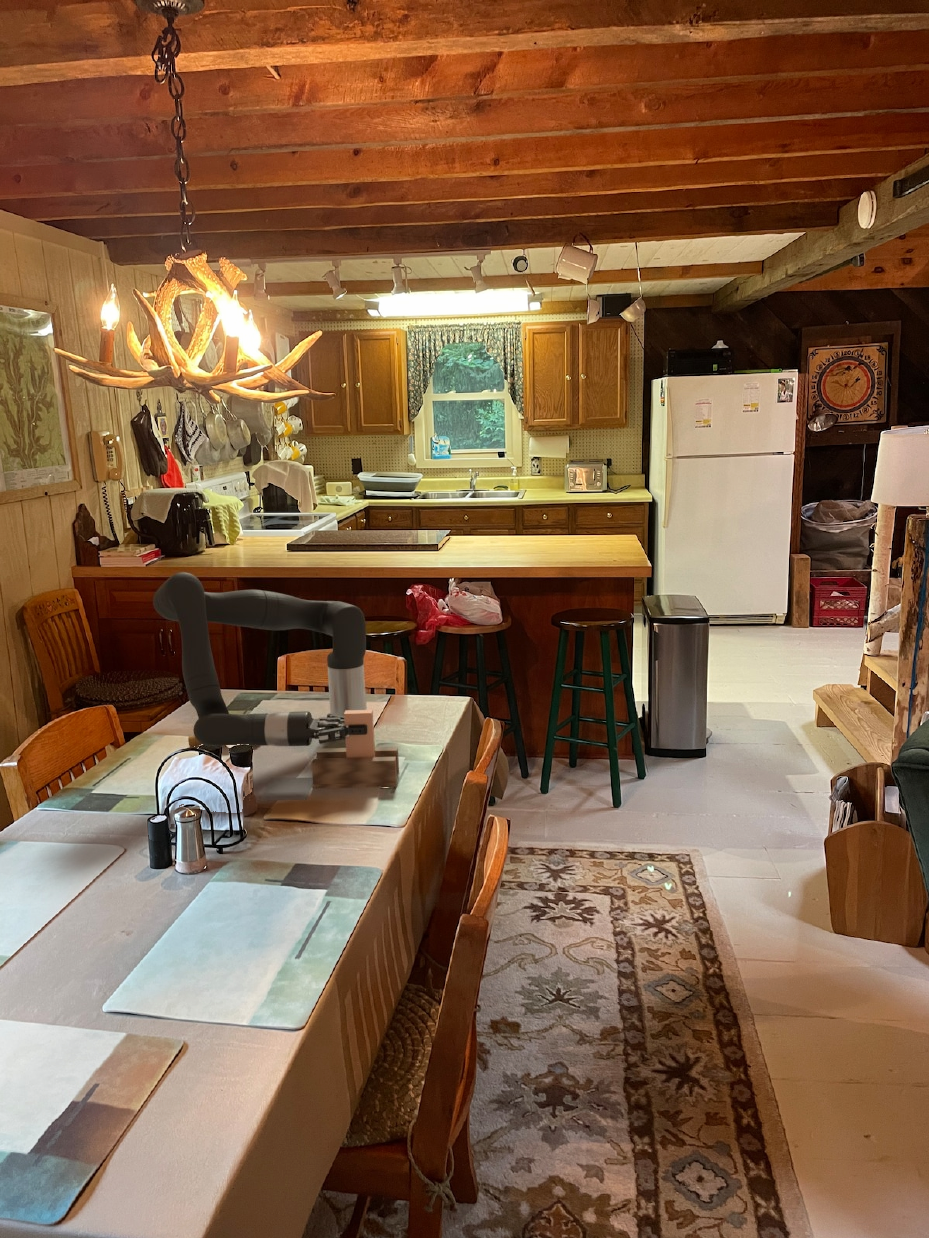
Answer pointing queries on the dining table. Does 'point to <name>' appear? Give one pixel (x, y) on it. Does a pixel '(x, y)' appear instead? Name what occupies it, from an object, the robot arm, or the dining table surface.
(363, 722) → the block
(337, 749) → the rack
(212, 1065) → the dining table surface
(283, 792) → the mat
